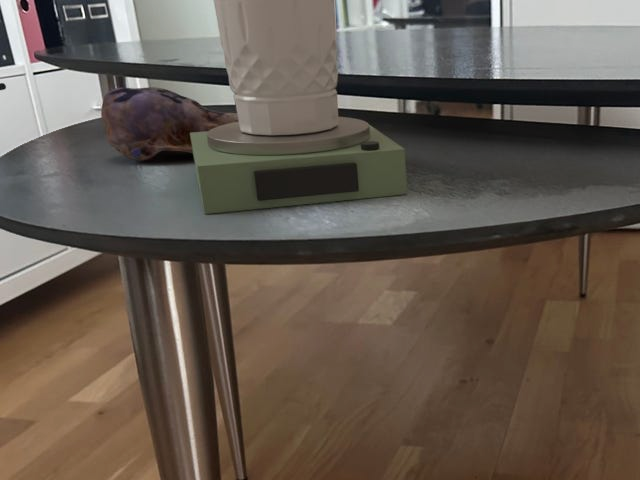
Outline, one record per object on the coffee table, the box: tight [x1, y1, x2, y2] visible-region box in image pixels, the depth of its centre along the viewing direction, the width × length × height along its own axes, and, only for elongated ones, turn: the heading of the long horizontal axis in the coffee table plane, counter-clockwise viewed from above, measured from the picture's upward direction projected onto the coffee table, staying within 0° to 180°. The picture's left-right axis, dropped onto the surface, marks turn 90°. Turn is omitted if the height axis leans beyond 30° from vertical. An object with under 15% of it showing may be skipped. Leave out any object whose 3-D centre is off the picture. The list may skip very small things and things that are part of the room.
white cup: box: [213, 0, 339, 135], centre depth 57 cm, size 8×8×10 cm
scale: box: [190, 119, 408, 215], centre depth 59 cm, size 13×13×3 cm
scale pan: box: [207, 116, 370, 155], centre depth 59 cm, size 11×11×1 cm
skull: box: [100, 86, 238, 162], centre depth 69 cm, size 12×8×6 cm, turn 88°
